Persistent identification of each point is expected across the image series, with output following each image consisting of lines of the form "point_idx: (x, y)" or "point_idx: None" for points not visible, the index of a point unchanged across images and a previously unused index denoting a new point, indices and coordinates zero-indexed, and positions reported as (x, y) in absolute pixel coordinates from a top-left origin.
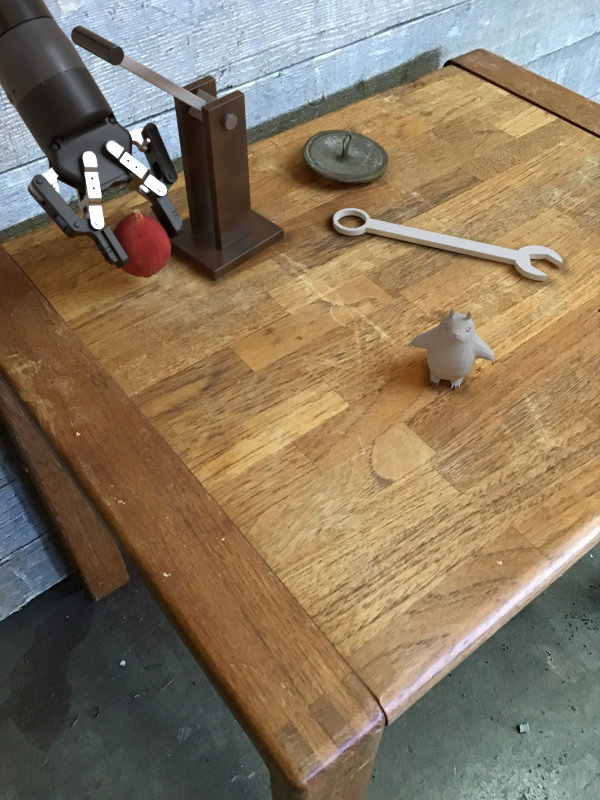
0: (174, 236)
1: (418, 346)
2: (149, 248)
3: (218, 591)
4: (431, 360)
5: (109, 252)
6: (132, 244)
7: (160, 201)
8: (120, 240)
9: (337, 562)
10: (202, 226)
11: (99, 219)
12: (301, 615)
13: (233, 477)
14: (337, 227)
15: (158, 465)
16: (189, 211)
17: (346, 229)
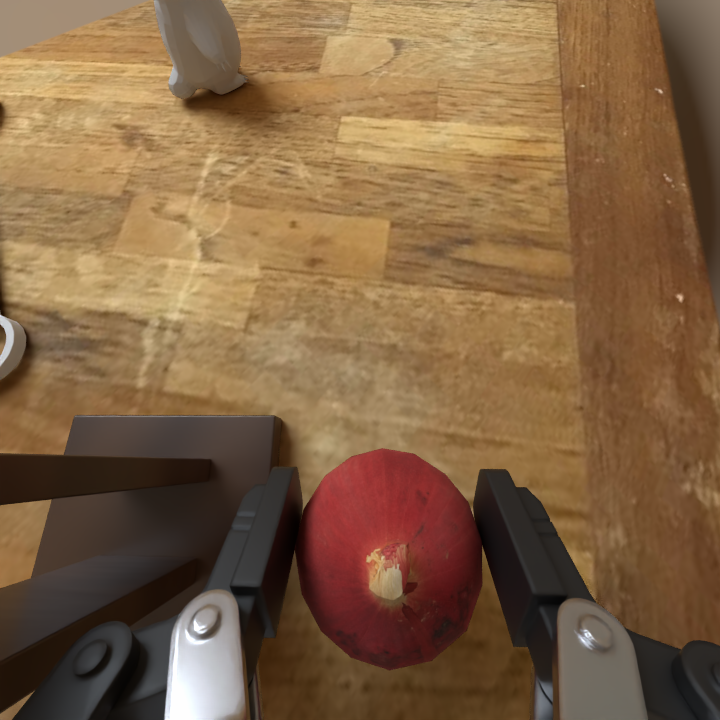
0: (298, 484)
1: (223, 48)
2: (407, 462)
3: (619, 54)
4: (232, 37)
5: (540, 520)
6: (450, 502)
7: (255, 574)
8: (472, 553)
9: (500, 19)
10: (171, 561)
11: (581, 646)
12: (562, 7)
13: (526, 127)
14: (13, 353)
15: (598, 189)
16: (157, 604)
17: (12, 332)
